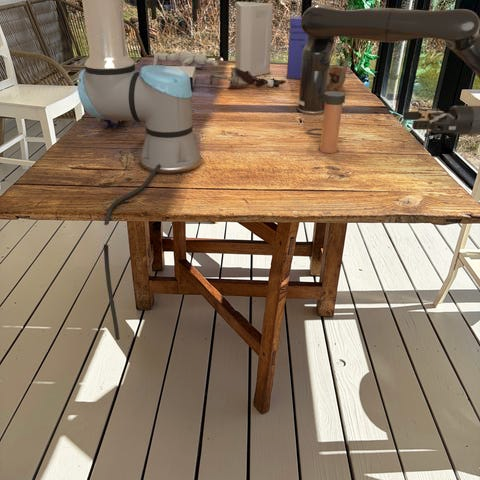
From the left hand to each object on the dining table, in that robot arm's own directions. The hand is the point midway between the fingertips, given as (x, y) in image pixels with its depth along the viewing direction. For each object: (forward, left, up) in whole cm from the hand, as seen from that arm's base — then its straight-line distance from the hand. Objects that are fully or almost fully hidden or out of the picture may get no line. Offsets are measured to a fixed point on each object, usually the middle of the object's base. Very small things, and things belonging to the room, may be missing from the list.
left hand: (174, 20), depth 152 cm
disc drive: (+33, +13, -28) cm, 45 cm away
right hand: (-27, -73, -19) cm, 80 cm away
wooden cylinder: (-30, -53, -28) cm, 67 cm away
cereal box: (+58, -40, -28) cm, 76 cm away
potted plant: (+42, -52, -28) cm, 73 cm away
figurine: (+34, -18, -28) cm, 47 cm away
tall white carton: (+63, -16, -28) cm, 71 cm away
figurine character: (-22, +14, -28) cm, 38 cm away
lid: (-30, -53, -13) cm, 62 cm away
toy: (+66, +17, -28) cm, 73 cm away
